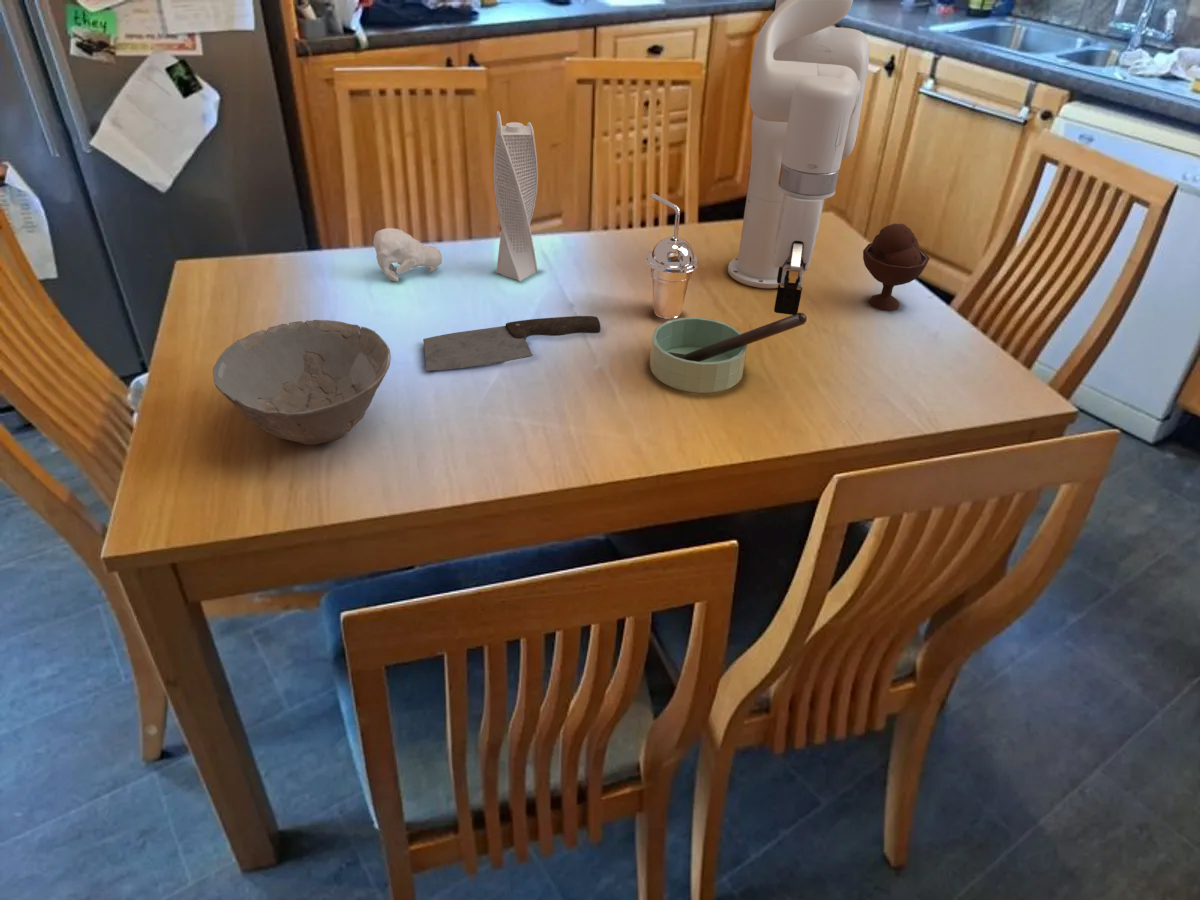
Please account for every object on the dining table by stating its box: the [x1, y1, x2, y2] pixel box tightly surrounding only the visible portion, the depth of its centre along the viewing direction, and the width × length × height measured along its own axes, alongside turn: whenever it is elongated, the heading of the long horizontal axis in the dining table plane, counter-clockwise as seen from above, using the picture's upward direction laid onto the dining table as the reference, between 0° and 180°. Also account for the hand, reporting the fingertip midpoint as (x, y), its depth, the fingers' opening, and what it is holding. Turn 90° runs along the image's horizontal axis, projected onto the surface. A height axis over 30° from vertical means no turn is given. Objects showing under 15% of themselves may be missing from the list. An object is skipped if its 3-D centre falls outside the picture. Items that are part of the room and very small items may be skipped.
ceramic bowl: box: [212, 319, 392, 446], centre depth 118 cm, size 22×23×10 cm
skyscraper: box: [493, 110, 539, 282], centre depth 154 cm, size 8×8×28 cm
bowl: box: [649, 316, 748, 394], centre depth 135 cm, size 14×14×6 cm
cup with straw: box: [645, 192, 699, 320], centre depth 145 cm, size 8×9×20 cm
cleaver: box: [422, 315, 601, 372], centre depth 140 cm, size 30×10×2 cm, turn 110°
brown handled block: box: [668, 312, 808, 362], centre depth 132 cm, size 21×4×11 cm, turn 79°
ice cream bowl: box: [862, 223, 930, 312], centre depth 153 cm, size 11×11×15 cm
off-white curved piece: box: [372, 227, 443, 283], centre depth 157 cm, size 6×8×12 cm
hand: (786, 297), depth 126 cm, fingers open, 9 cm apart
